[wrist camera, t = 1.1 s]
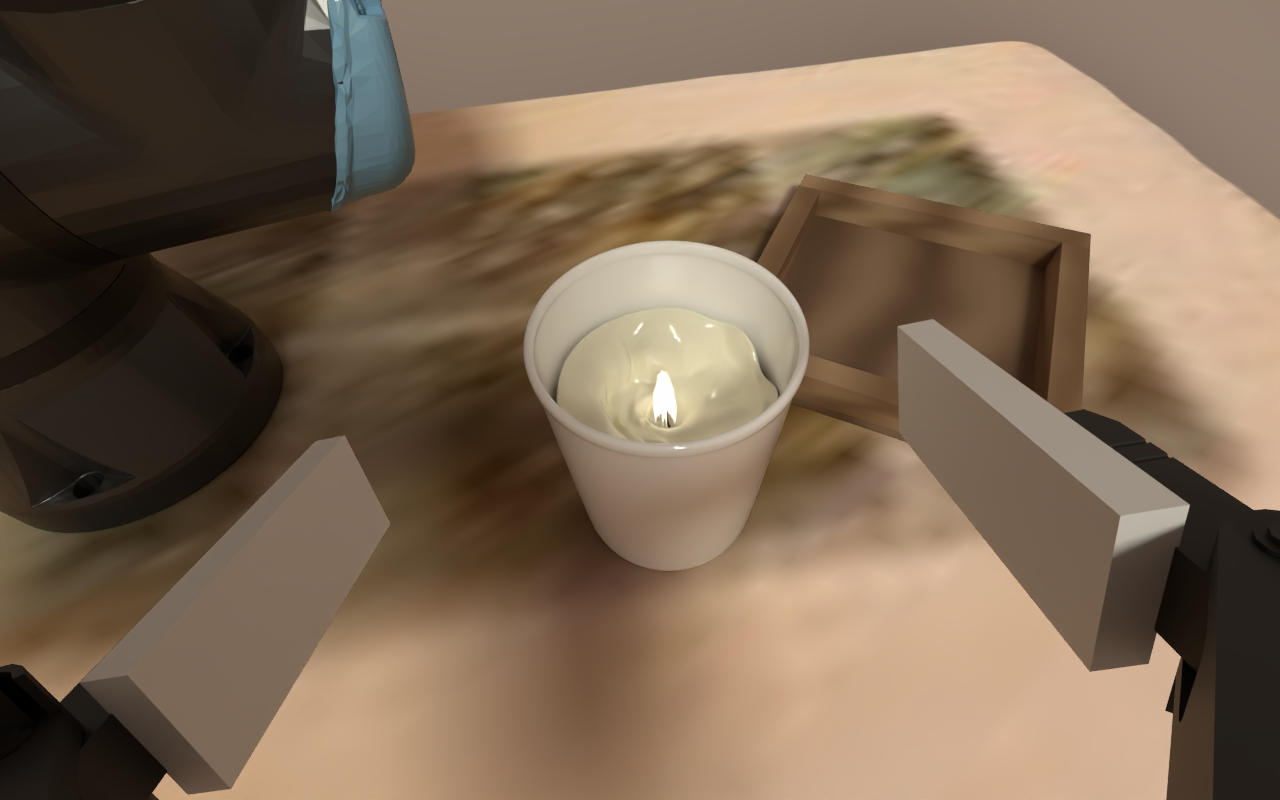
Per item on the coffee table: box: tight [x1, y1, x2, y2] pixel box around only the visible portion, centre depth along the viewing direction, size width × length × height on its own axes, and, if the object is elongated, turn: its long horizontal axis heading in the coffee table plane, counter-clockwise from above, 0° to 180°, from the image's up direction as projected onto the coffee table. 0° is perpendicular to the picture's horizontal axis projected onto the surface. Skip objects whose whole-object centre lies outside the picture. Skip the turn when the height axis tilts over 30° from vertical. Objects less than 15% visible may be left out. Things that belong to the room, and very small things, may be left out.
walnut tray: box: [757, 174, 1091, 442], centre depth 35 cm, size 18×18×3 cm
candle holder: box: [523, 241, 810, 571], centre depth 25 cm, size 10×10×12 cm
